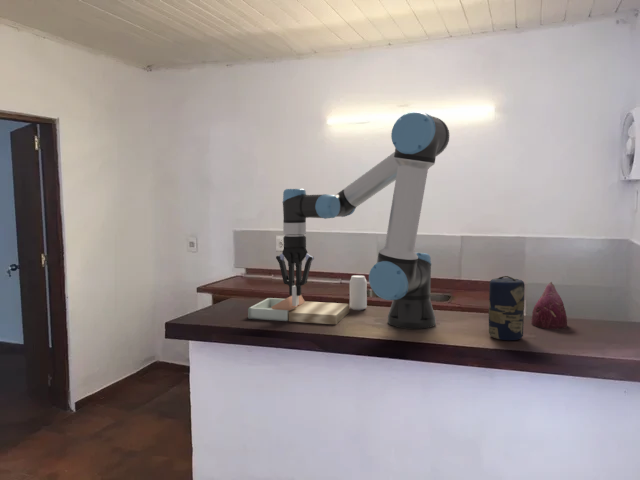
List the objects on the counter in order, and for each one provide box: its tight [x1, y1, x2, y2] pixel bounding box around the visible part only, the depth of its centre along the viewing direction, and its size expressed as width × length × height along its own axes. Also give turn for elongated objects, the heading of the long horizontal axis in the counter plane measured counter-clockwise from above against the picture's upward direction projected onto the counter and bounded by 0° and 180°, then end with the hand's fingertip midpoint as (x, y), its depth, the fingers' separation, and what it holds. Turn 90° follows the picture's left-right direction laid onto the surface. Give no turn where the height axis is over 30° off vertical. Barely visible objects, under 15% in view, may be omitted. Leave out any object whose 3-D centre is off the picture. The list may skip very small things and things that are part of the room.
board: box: [288, 300, 350, 325], centre depth 177 cm, size 16×18×3 cm
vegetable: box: [530, 281, 568, 330], centre depth 165 cm, size 10×10×15 cm
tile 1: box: [271, 295, 296, 311], centre depth 176 cm, size 6×6×4 cm
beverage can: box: [349, 274, 368, 311], centre depth 188 cm, size 6×6×12 cm
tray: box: [247, 297, 296, 322], centre depth 181 cm, size 14×18×4 cm
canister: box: [488, 275, 526, 341], centre depth 149 cm, size 10×10×18 cm
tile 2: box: [283, 294, 306, 307], centre depth 183 cm, size 6×6×4 cm
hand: (295, 305), depth 175 cm, fingers closed
